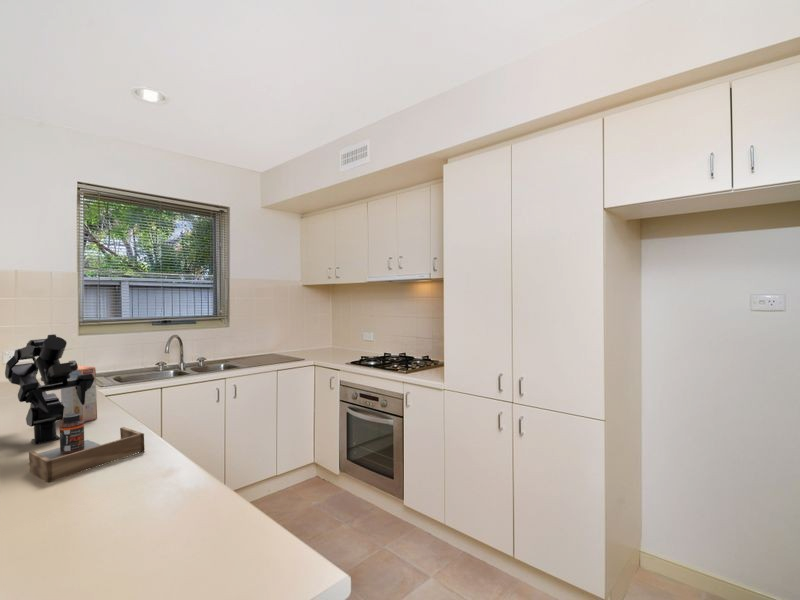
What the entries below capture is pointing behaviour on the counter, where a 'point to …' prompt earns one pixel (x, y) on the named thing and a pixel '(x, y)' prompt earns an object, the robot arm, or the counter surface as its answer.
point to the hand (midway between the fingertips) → (66, 407)
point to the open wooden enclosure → (86, 457)
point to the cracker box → (72, 400)
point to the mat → (56, 453)
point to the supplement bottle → (71, 434)
